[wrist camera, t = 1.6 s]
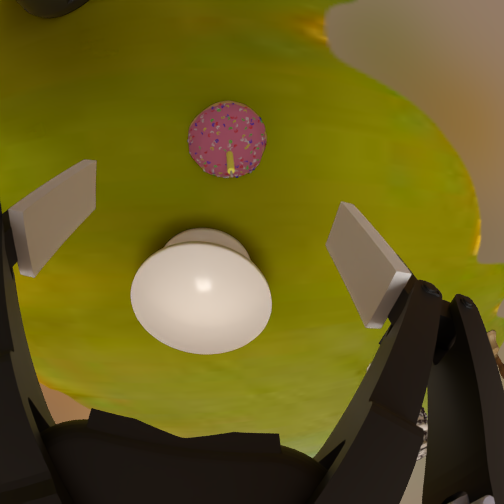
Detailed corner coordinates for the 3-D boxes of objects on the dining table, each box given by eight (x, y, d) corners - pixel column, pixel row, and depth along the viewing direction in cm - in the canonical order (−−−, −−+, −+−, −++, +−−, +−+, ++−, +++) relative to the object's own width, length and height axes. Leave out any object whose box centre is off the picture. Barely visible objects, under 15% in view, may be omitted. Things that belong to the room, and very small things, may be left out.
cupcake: (271, 156, 36) (286, 185, 26) (206, 176, 37) (195, 213, 26) (251, 91, 32) (259, 91, 21) (183, 113, 32) (160, 124, 22)
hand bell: (478, 353, 65) (501, 392, 51) (471, 346, 62) (496, 388, 48) (497, 334, 62) (522, 372, 48) (492, 326, 59) (520, 366, 45)
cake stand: (148, 205, 38) (129, 234, 31) (278, 226, 41) (288, 258, 34) (146, 306, 47) (134, 343, 40) (251, 321, 50) (254, 360, 42)
